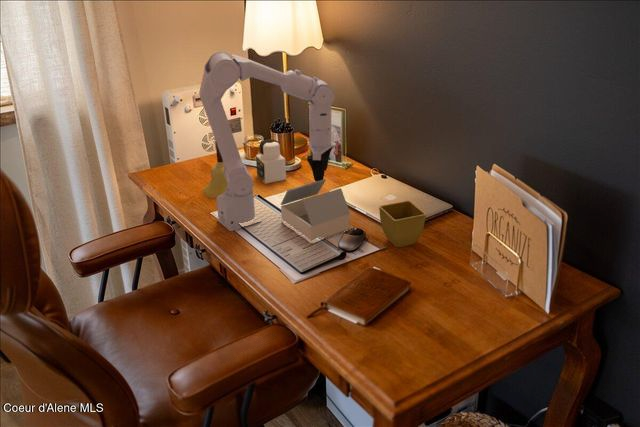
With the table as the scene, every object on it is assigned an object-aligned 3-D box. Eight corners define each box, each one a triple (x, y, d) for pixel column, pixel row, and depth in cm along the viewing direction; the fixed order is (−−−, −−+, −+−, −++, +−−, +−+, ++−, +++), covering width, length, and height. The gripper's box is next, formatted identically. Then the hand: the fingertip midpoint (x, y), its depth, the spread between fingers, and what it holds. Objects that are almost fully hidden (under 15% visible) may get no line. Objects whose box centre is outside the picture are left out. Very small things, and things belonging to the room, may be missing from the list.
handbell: (195, 188, 179) (186, 107, 167) (231, 177, 185) (224, 99, 174) (215, 202, 170) (206, 118, 158) (252, 191, 176) (246, 109, 165)
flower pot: (377, 237, 151) (378, 205, 147) (407, 230, 153) (409, 199, 149) (392, 253, 143) (394, 220, 139) (424, 246, 146) (427, 214, 142)
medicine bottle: (256, 175, 186) (254, 139, 181) (278, 171, 189) (276, 136, 184) (264, 184, 181) (262, 147, 175) (286, 179, 183) (284, 143, 178)
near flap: (311, 226, 145) (312, 225, 145) (302, 200, 146) (303, 199, 145) (349, 213, 151) (350, 213, 151) (340, 188, 152) (341, 188, 151)
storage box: (311, 244, 148) (310, 226, 146) (281, 222, 158) (281, 206, 156) (349, 230, 154) (349, 213, 152) (318, 210, 164) (318, 194, 162)
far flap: (288, 191, 151) (287, 189, 151) (281, 205, 156) (280, 204, 156) (325, 180, 156) (325, 178, 156) (317, 194, 162) (317, 193, 162)
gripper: (332, 137, 148) (332, 187, 154) (338, 119, 160) (338, 165, 166) (304, 136, 148) (305, 185, 155) (313, 118, 161) (313, 164, 167)
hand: (320, 175), depth 161 cm, fingers open, 7 cm apart
